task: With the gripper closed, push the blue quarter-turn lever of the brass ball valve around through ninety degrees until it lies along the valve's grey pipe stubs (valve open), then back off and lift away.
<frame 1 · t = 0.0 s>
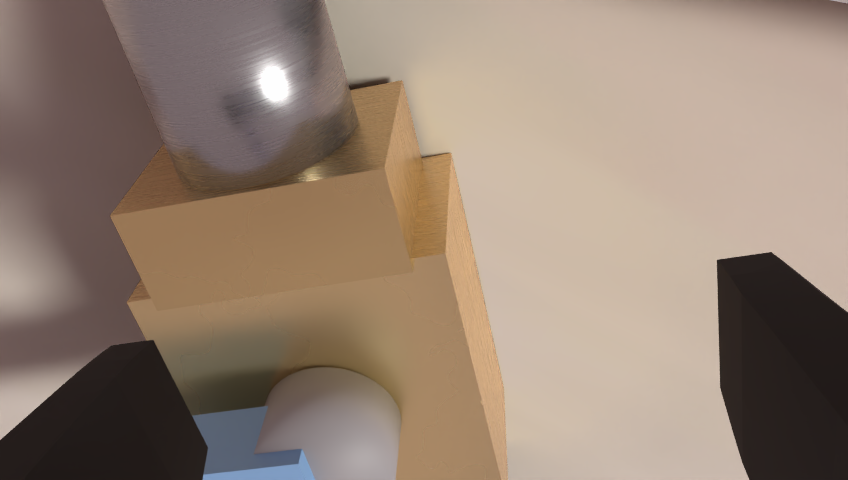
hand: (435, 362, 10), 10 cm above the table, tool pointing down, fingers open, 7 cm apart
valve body: (357, 300, 22), on the table
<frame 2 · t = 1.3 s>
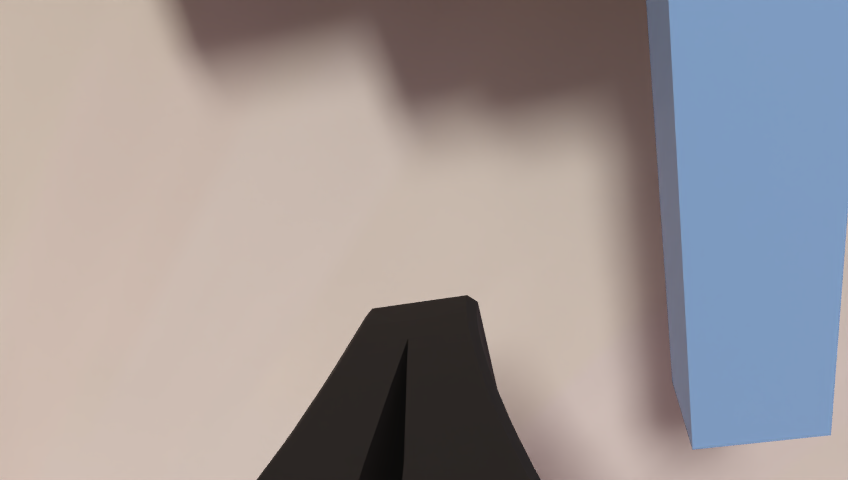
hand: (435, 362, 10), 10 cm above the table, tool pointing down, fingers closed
lever: (739, 65, 12), point 6 cm above the table, hinge at 0.0°
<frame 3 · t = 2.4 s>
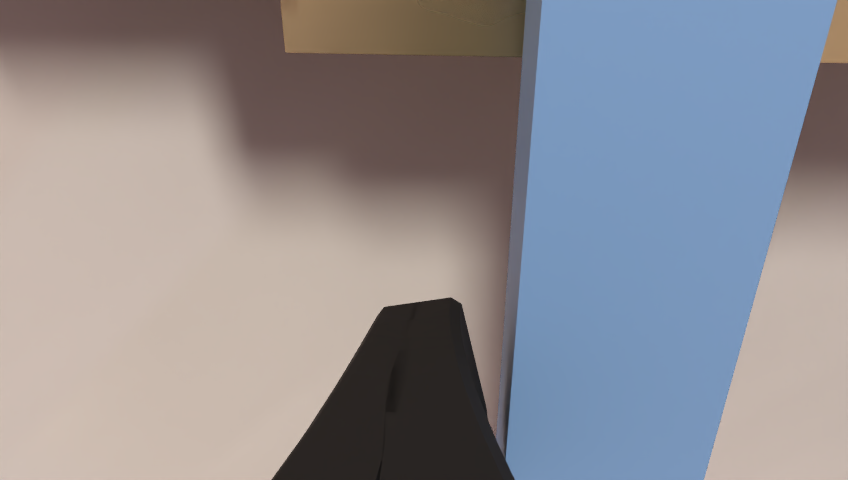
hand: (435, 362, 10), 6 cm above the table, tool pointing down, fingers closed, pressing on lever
lever: (617, 238, 9), point 6 cm above the table, hinge at 0.0°, touching gripper
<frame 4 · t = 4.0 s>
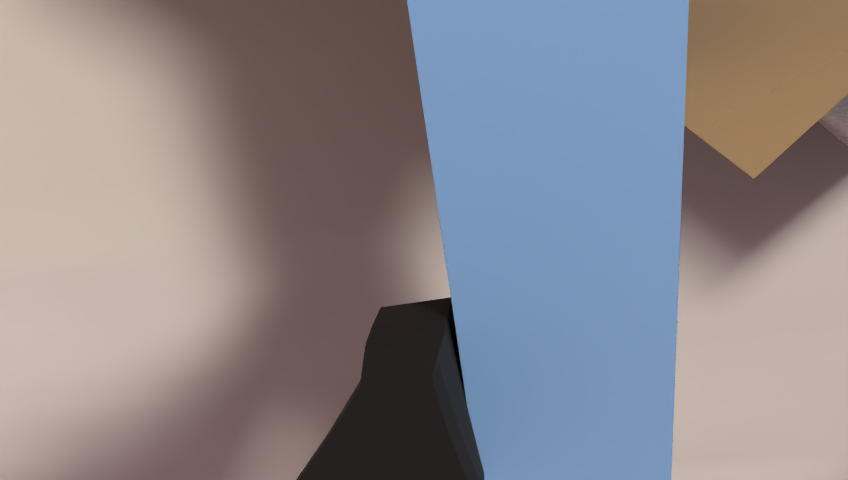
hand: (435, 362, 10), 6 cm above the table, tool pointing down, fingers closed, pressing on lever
lever: (550, 160, 9), point 6 cm above the table, hinge at 43.4°, touching gripper
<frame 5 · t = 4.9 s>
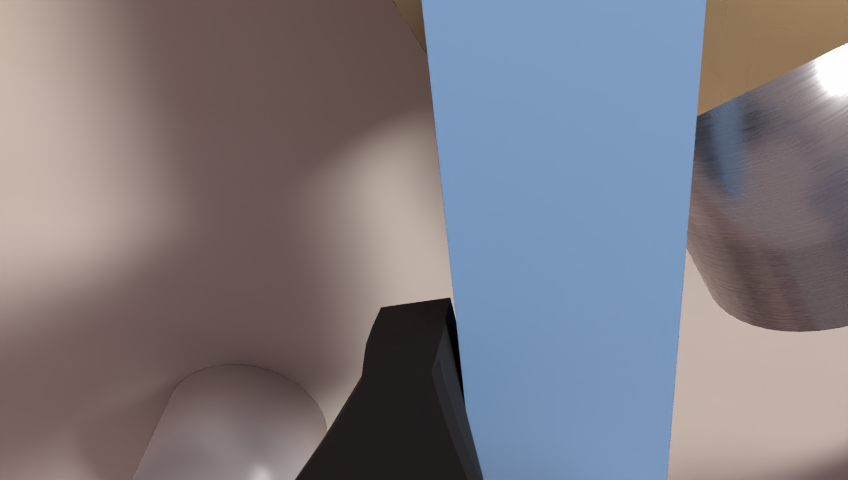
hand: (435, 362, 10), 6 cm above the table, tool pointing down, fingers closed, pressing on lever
lever: (555, 99, 9), point 6 cm above the table, hinge at 64.3°, touching gripper
pvc end cap: (248, 423, 20), on the table
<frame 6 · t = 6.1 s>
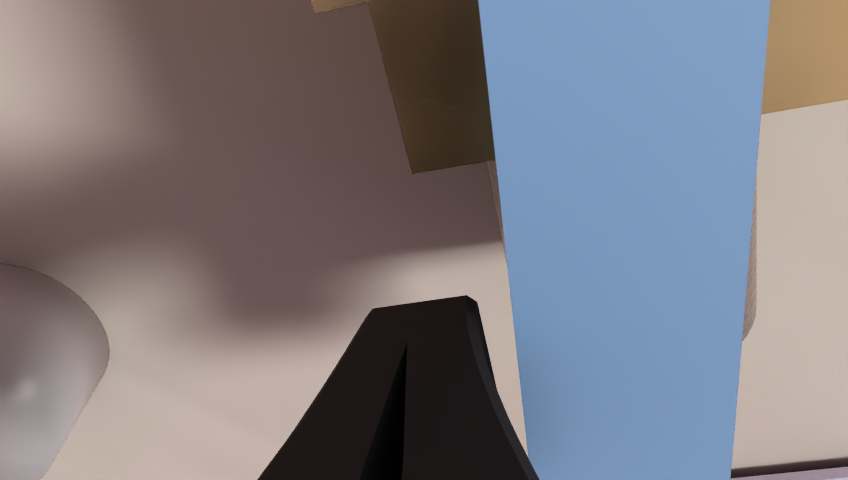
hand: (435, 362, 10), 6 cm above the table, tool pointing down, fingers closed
lever: (607, 101, 8), point 6 cm above the table, hinge at 85.9°
pvc end cap: (24, 333, 19), on the table
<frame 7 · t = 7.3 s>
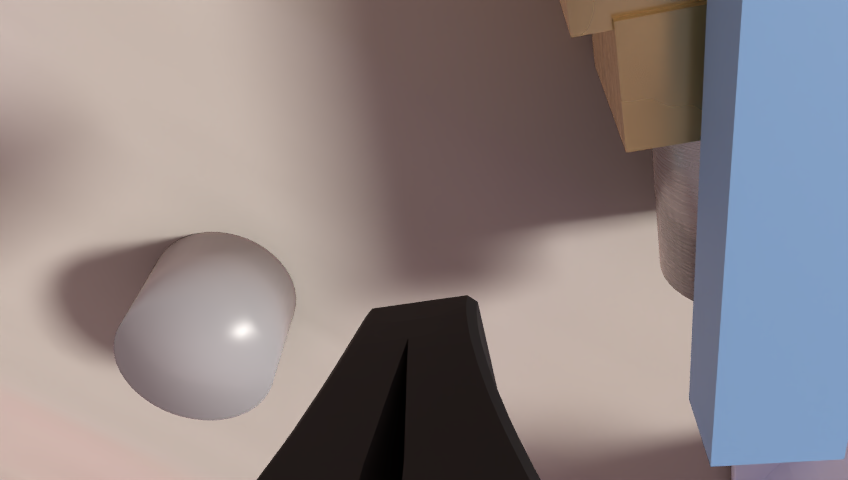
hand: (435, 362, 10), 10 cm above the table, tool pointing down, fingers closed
lever: (791, 100, 12), point 6 cm above the table, hinge at 86.0°
pvc end cap: (225, 291, 22), on the table
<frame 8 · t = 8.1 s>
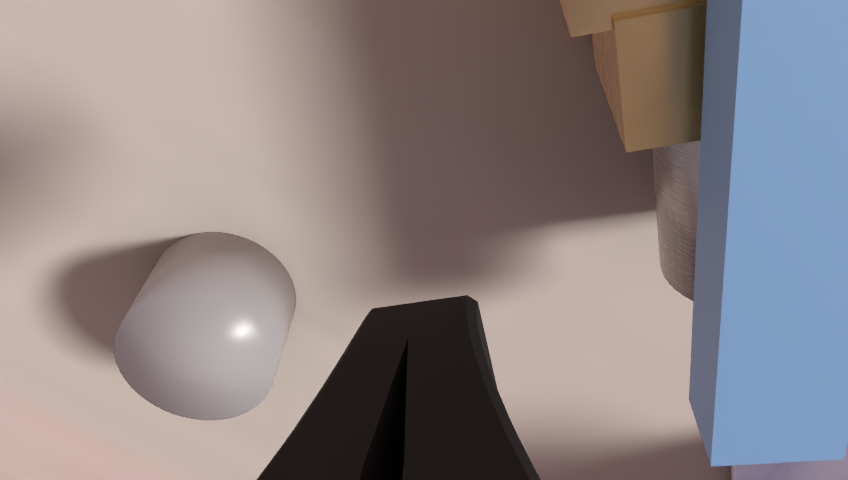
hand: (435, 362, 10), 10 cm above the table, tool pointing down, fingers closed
lever: (791, 100, 12), point 6 cm above the table, hinge at 86.0°
pvc end cap: (225, 291, 22), on the table
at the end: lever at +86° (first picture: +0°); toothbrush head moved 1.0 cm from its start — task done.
